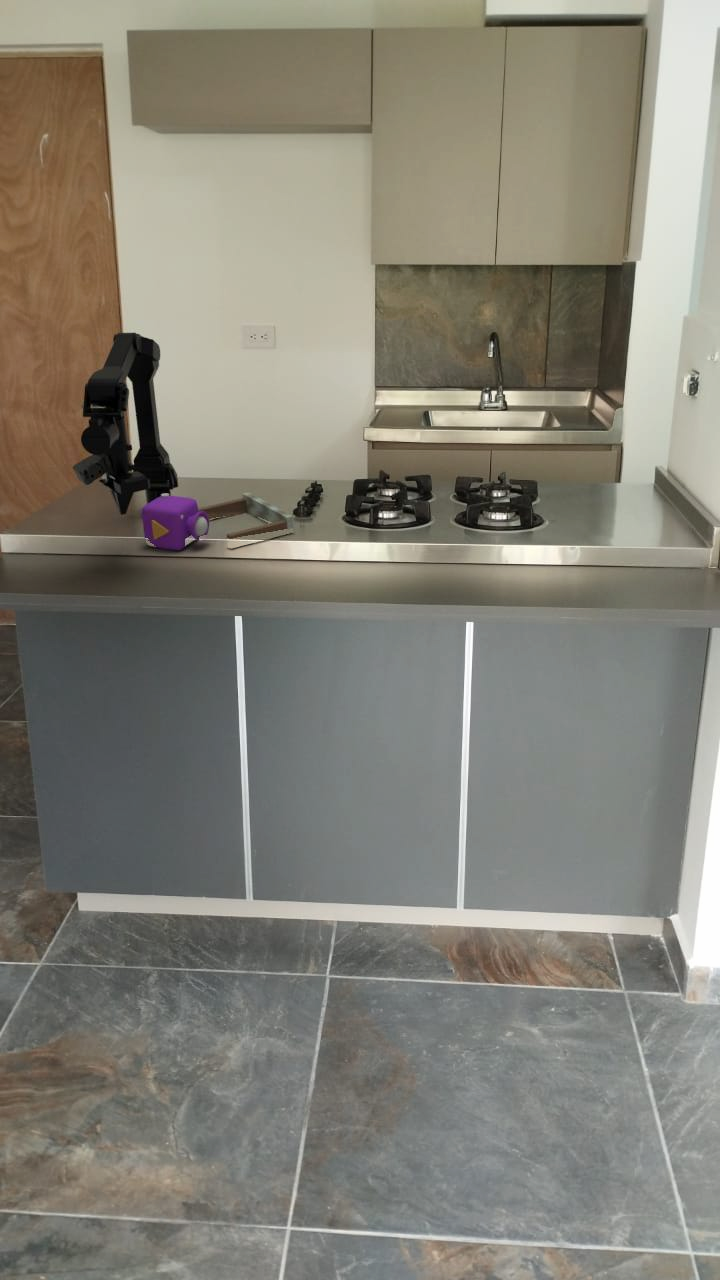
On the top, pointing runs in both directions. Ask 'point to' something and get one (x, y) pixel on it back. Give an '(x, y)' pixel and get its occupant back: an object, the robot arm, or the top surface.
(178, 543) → the toy camera
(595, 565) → the top surface
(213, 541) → the top surface
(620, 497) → the top surface
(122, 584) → the top surface
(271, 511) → the walnut dock
